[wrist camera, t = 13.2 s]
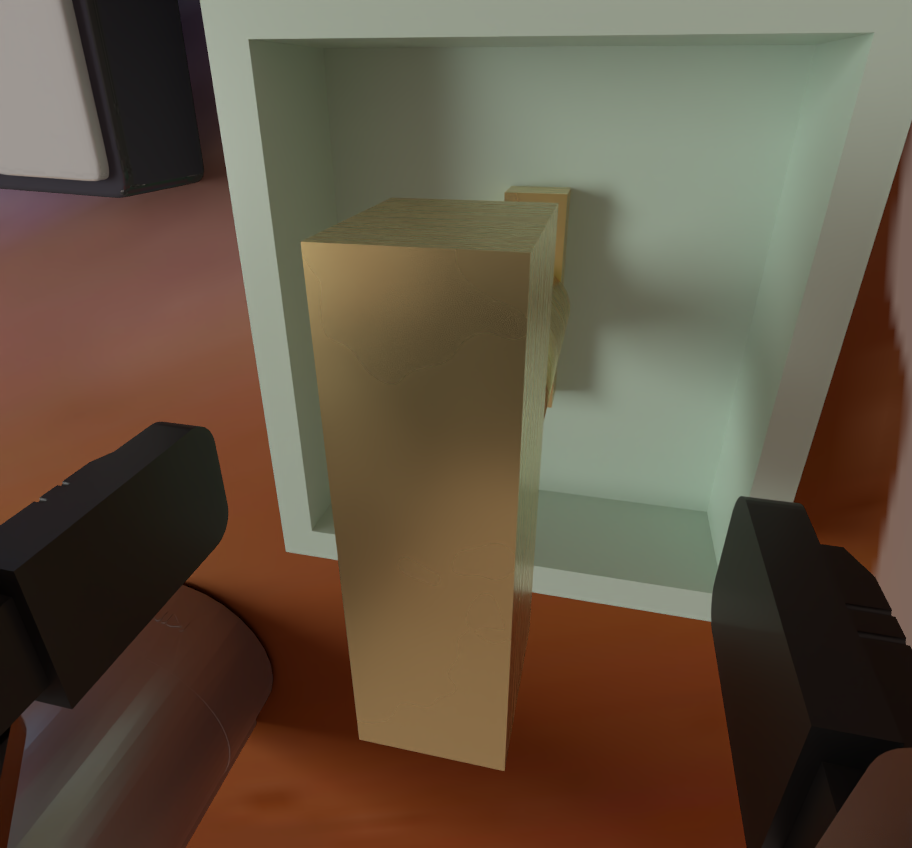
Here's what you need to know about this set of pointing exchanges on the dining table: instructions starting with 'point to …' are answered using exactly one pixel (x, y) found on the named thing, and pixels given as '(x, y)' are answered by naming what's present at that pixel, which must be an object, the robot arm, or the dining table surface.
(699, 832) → the dining table surface
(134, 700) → the robot arm
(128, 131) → the calculator
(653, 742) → the dining table surface
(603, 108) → the tray
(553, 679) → the dining table surface
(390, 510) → the t key
